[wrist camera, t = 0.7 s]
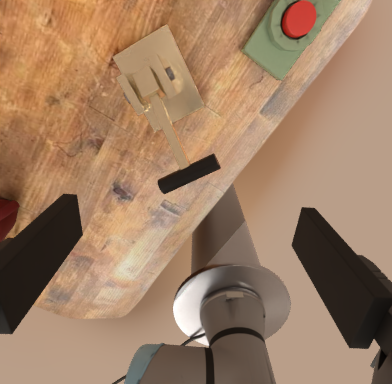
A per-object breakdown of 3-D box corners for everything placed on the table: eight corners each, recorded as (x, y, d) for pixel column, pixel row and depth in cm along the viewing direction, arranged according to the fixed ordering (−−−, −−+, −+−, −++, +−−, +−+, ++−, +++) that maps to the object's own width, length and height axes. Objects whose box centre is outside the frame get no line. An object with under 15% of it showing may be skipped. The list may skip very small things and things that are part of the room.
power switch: (205, 105, 40) (208, 118, 28) (155, 131, 42) (140, 153, 30) (168, 25, 35) (154, 1, 24) (114, 57, 37) (77, 50, 25)
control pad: (277, 80, 38) (285, 80, 35) (240, 50, 37) (245, 48, 33) (336, -1, 34) (353, -10, 30) (298, -38, 32) (311, -52, 29)
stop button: (296, 43, 33) (301, 42, 32) (276, 25, 32) (280, 23, 31) (316, 16, 32) (322, 13, 30) (295, -3, 31) (300, -7, 29)
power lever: (221, 168, 29) (219, 167, 26) (167, 193, 30) (161, 194, 28) (174, 63, 29) (168, 53, 27) (123, 92, 30) (113, 85, 28)
